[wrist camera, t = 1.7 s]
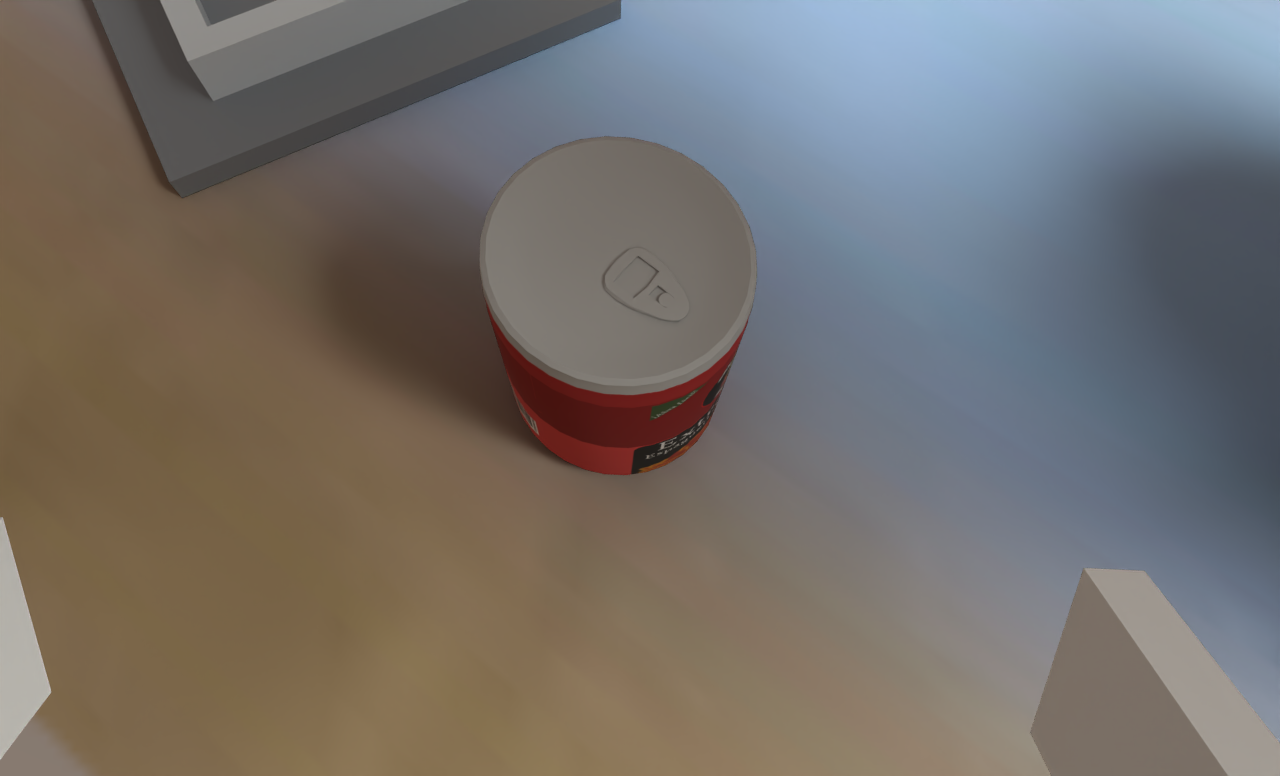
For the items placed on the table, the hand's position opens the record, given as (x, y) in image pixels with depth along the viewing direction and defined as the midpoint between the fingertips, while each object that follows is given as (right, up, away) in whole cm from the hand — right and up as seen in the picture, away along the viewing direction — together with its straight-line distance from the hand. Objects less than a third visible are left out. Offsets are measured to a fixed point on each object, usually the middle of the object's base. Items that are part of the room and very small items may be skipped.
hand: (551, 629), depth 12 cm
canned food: (0, +3, +25) cm, 25 cm away
